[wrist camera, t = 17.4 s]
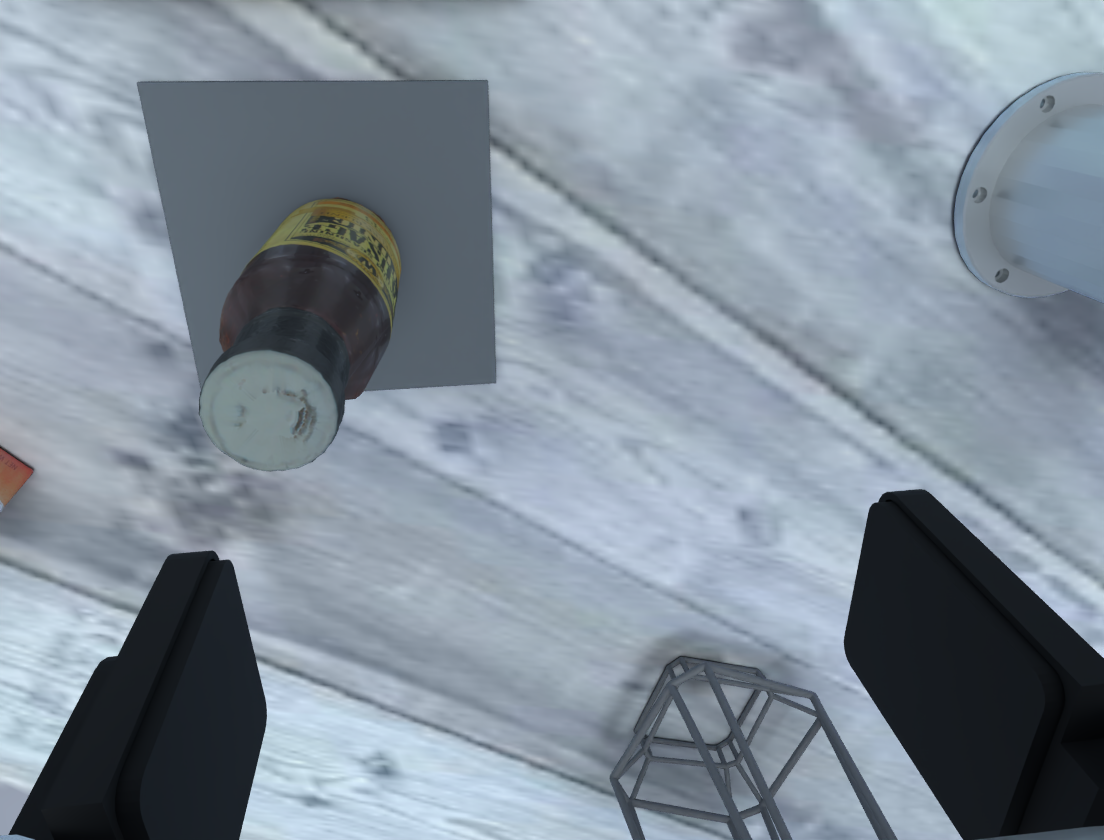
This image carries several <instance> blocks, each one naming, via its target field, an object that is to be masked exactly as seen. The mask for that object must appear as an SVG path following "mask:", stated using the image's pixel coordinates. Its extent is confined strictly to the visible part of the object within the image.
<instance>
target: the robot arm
mask: <svg viewBox="0 0 1104 840" xmlns="http://www.w3.org/2000/svg"><path fill="white" fill-rule="evenodd" d="M954 225H955V237H956V241H957V244H958V248H959V251H960V254H961V256H962V258H963V260H964V261H965V263H966V265H967V267H968V268H969V270H970V271H971V272H972V273H973V274H974V275H975V276H976V277H977V278H978V279H979V280H980V281H982V282H983V283H985V284H987V285H988V286H990V287H992V288H994V289H996V290H998V291H1001V292H1003V293H1006V294H1008V295H1011V296H1017V297H1023V298H1037V297H1047V296H1051V295H1055V294H1059V293H1063V292H1065V291H1068V290H1072V291H1074V292H1077V293H1079V294H1081V295H1084V296H1086V297H1089V298H1091V299H1094V300H1096V301H1099V302H1101V303H1104V73H1075V74H1071V75H1066V76H1062V77H1058V78H1056V79H1053V80H1051V81H1049V82H1046V83H1044V84H1042V85H1040V86H1037V87H1036V88H1034V89H1033V90H1031V91H1030V92H1028V93H1027V94H1025V95H1024V96H1022V97H1021V98H1019V99H1018V100H1017V101H1015V102H1014V103H1013V104H1012V105H1011V106H1010V107H1009V108H1008V109H1007V110H1005V111H1004V112H1003V113H1002V114H1001V115H1000V116H999V117H998V118H997V119H996V121H995V122H994V123H993V124H992V125H991V127H990V128H989V129H988V130H987V131H986V133H985V134H984V135H983V137H982V138H981V140H980V142H979V143H978V145H977V146H976V148H975V150H974V151H973V153H972V155H971V157H970V159H969V161H968V163H967V166H966V168H965V170H964V173H963V175H962V178H961V181H960V185H959V189H958V192H957V196H956V203H955V213H954ZM844 649H845V654H846V657H847V660H848V662H849V664H850V666H851V667H852V669H853V670H854V672H855V673H856V675H857V676H858V678H859V679H860V681H861V683H862V684H863V686H864V687H865V689H866V690H867V692H868V693H869V695H870V697H871V698H872V700H873V701H874V703H875V704H876V706H877V707H878V709H879V710H880V712H881V714H882V715H883V717H884V718H885V720H886V721H887V723H888V724H889V726H890V727H891V729H892V731H893V732H894V734H895V735H896V737H897V738H898V740H899V741H900V743H901V744H902V746H903V748H904V749H905V751H906V752H907V754H908V755H909V757H910V758H911V760H912V761H913V763H914V765H915V766H916V768H917V769H918V771H919V772H920V774H921V775H922V777H923V778H924V780H925V782H926V783H927V785H928V786H929V788H930V789H931V791H932V792H933V794H934V795H935V797H936V799H937V800H938V802H939V803H940V805H941V806H942V808H943V809H944V811H945V813H946V814H947V816H948V817H949V819H950V820H951V822H952V823H953V825H954V826H955V828H956V830H957V831H958V833H959V834H960V836H961V837H962V839H963V840H1104V658H1103V657H1102V656H1101V655H1100V654H1099V653H1097V652H1096V651H1095V650H1094V649H1093V648H1092V647H1091V646H1090V645H1089V644H1088V643H1087V642H1086V641H1085V640H1084V639H1083V638H1082V637H1081V636H1080V635H1079V634H1078V633H1076V632H1075V631H1074V630H1073V629H1072V628H1071V627H1070V626H1069V625H1068V624H1067V623H1066V622H1065V621H1064V620H1063V619H1062V618H1061V617H1060V616H1059V615H1058V614H1056V613H1055V612H1054V611H1053V610H1052V609H1051V608H1050V607H1049V606H1048V605H1047V604H1046V603H1045V602H1044V601H1043V600H1042V599H1041V598H1040V597H1039V596H1038V595H1036V594H1035V593H1034V592H1033V591H1032V590H1031V589H1030V588H1029V587H1028V586H1027V585H1026V584H1025V583H1024V582H1023V581H1022V580H1021V579H1020V578H1019V577H1018V576H1017V575H1015V574H1014V573H1013V572H1012V571H1011V570H1010V569H1009V568H1008V567H1007V566H1006V565H1005V564H1004V563H1003V562H1002V561H1001V560H1000V559H999V558H998V557H997V556H995V555H994V554H993V553H992V552H991V551H990V550H989V549H988V548H987V547H986V546H985V545H984V544H983V543H982V542H981V541H980V540H979V539H978V538H977V537H976V536H974V535H973V534H972V533H971V532H970V531H969V530H968V529H967V528H966V527H965V526H964V525H963V524H962V523H961V522H960V521H959V520H958V519H957V518H956V517H954V516H953V515H952V514H951V513H950V512H949V511H948V510H947V509H946V508H945V507H944V506H943V505H942V504H941V503H940V502H939V501H938V500H937V499H936V498H934V497H933V496H932V495H931V494H930V493H929V492H927V491H926V490H922V489H917V490H906V491H894V492H886V493H884V494H883V495H882V496H881V498H880V499H879V502H878V503H874V504H872V506H871V507H870V509H869V513H868V518H867V523H866V528H865V533H864V538H863V544H862V549H861V554H860V559H859V564H858V569H857V575H856V580H855V585H854V590H853V595H852V600H851V605H850V611H849V616H848V621H847V626H846V631H845V636H844ZM266 720H267V709H266V701H265V696H264V692H263V688H262V683H261V679H260V675H259V671H258V667H257V663H256V658H255V654H254V650H253V646H252V642H251V637H250V633H249V629H248V625H247V621H246V617H245V612H244V608H243V604H242V600H241V596H240V591H239V587H238V583H237V579H236V575H235V570H234V567H233V564H232V562H231V561H230V560H219V558H218V555H217V554H216V552H214V551H202V552H190V553H179V554H171V555H169V556H168V557H167V559H166V560H165V562H164V564H163V566H162V568H161V570H160V572H159V574H158V576H157V578H156V580H155V582H154V584H153V586H152V588H151V590H150V592H149V594H148V596H147V598H146V600H145V602H144V604H143V606H142V608H141V610H140V612H139V614H138V616H137V618H136V620H135V622H134V624H133V626H132V628H131V630H130V632H129V634H128V636H127V638H126V640H125V642H124V644H123V646H122V648H121V650H120V652H119V654H118V656H114V657H107V658H106V659H104V660H102V661H101V662H100V663H99V665H98V666H97V668H96V669H95V671H94V672H93V674H92V676H91V678H90V680H89V682H88V684H87V686H86V688H85V690H84V692H83V693H82V695H81V697H80V699H79V701H78V703H77V705H76V707H75V709H74V711H73V713H72V714H71V716H70V718H69V720H68V722H67V724H66V726H65V728H64V730H63V732H62V734H61V735H60V737H59V739H58V741H57V743H56V745H55V747H54V749H53V751H52V753H51V755H50V756H49V758H48V760H47V762H46V764H45V766H44V768H43V770H42V772H41V774H40V776H39V777H38V779H37V781H36V783H35V785H34V787H33V789H32V791H31V793H30V795H29V797H28V799H27V801H26V802H25V804H24V806H23V808H22V810H21V812H20V814H19V816H18V818H17V819H16V821H15V824H14V825H13V827H12V829H11V831H10V833H9V835H1V836H0V840H239V837H240V833H241V829H242V825H243V821H244V816H245V812H246V808H247V804H248V800H249V795H250V791H251V787H252V783H253V779H254V775H255V770H256V766H257V762H258V758H259V754H260V749H261V745H262V741H263V737H264V733H265V728H266Z"/></svg>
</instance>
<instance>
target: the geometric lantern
mask: <svg viewBox="0 0 1104 840" xmlns="http://www.w3.org/2000/svg"><path fill="white" fill-rule="evenodd" d="M686 662H687V663H693V664H698V665H696V666H695V667H693V668H691V669H689V668H688V666H687V664H686ZM678 664H681V666H682V668H683V669H684V671H685V672H684V673H682V674H681V675H679V676H677V677H676V676H675V674H674V671H673V668H674V667H675V666H677V665H678ZM703 671H704V672H705V674H706V676H703V675H698V674H699V673H701V672H703ZM740 671H741V672H740ZM743 672H747V673H753V674H756V675H757V676H754V675H750V674H747V673H743ZM714 673H717V674H720V675H724V676H728V677H731V678H735V679H739V680H742V681H746V682H750V683H753V684H750V683H744V682H738V681H733V680H727V679H721V678H716V676H715V674H714ZM668 674H669V675H670V677H671V679H672V680H671V681H669V682H668V683H667V685H666V686H665V688H664V689H663V691H662V693H661V694H660V696H659V697H658V699H657V701H656V702H655V704H654V706H653V707H652V705H653V703H654V701H655V699H656V697H657V696H658V694H659V692H660V690H661V688H662V686H663V684H664V682H665V680H666V678H667V676H668ZM689 679H695V680H701V681H707V682H710V685H711V687H712V689H713V691H714V693H715V695H716V697H717V700H718V702H719V704H720V706H721V708H722V710H723V713H724V715H725V717H726V719H727V721H728V724H729V726H730V728H731V730H732V732H731V734H730V736H729V738H728V739H726V740H725V741H723V742H721V743H719V744H718V745H716V746H713V745H705V743H704V741H703V739H702V737H701V735H700V733H699V731H698V729H697V727H696V725H695V723H694V721H693V719H692V717H691V715H690V713H689V711H688V709H687V707H686V705H685V703H684V701H683V699H682V697H681V695H680V693H679V692H678V690H677V689H678V687H679V685H680V684H682V683H684V682H685V681H687V680H689ZM719 684H725V685H731V686H737V687H743V688H749V689H755V690H756V691H755V692H754V694H753V696H752V698H751V699H750V701H749V703H748V705H747V706H746V708H745V710H744V712H743V713H742V715H741V717H740V718H739V720H738V722H737V721H736V719H735V716H734V714H733V712H732V710H731V708H730V706H729V704H728V702H727V699H726V697H725V695H724V693H723V691H722V689H721V687H720V685H719ZM756 684H757V685H756ZM761 691H766V692H767V694H768V696H769V697H768V699H767V701H766V703H765V705H764V707H763V708H762V710H761V712H760V714H759V716H758V718H757V720H756V722H755V724H754V726H753V728H752V730H751V732H750V734H749V736H748V738H747V740H745V738H744V736H743V733H742V731H741V729H740V727H741V725H742V723H743V721H744V720H745V718H746V716H747V715H748V713H749V711H750V709H751V708H752V706H753V704H754V702H755V701H756V699H757V697H758V696H759V694H760V692H761ZM773 692H774V693H780V694H786V695H793V696H799V697H805V698H808V699H810V700H811V702H812V704H813V706H814V707H815V710H816V711H814V710H812V709H810V708H807V707H805V706H803V705H800V704H798V703H795V702H793V701H791V700H788V699H786V698H783V697H781V696H779V695H776V694H774V693H773ZM672 699H674V701H675V703H676V705H677V707H678V709H679V711H680V713H681V715H682V717H683V719H684V721H685V723H686V726H687V728H688V730H689V732H690V734H691V736H692V738H693V740H694V742H695V743H690V742H682V741H674V740H667V739H659V738H653V737H654V735H655V733H656V731H657V729H658V727H659V725H660V723H661V721H662V719H663V717H664V715H665V713H666V711H667V709H668V707H669V705H670V703H671V701H672ZM773 699H775V700H778V701H780V702H782V703H785V704H787V705H789V706H792V707H794V708H797V709H799V710H801V711H804V712H806V713H808V714H811V715H813V716H815V717H817V719H816V720H815V722H814V723H813V725H812V726H811V728H810V729H809V731H808V732H807V734H806V735H805V737H804V738H803V739H802V741H801V742H800V744H799V745H798V747H797V748H796V750H795V751H794V753H793V754H792V756H791V757H790V759H789V760H788V762H787V763H786V765H785V766H784V768H783V769H782V771H781V772H780V774H779V775H778V777H777V778H776V780H775V781H774V782H773V784H772V785H771V787H770V788H769V789H768V787H767V784H766V782H765V780H764V778H763V776H762V774H761V772H760V770H759V767H758V765H757V763H756V761H755V759H754V757H753V755H752V753H751V750H750V748H749V745H750V743H751V741H752V739H753V737H754V735H755V734H756V732H757V730H758V728H759V726H760V724H761V722H762V720H763V718H764V716H765V714H766V712H767V710H768V708H769V707H770V705H771V703H772V701H773ZM664 703H665V704H664ZM663 705H664V706H663ZM662 706H663V708H662ZM651 707H652V709H651ZM661 708H662V710H661ZM650 709H651V710H650ZM660 710H661V712H660V714H659V716H658V718H657V720H656V722H655V724H654V726H653V728H652V730H651V732H650V734H649V736H648V737H646V736H645V734H646V732H647V730H648V729H649V727H650V726H651V724H652V722H653V721H654V719H655V718H656V716H657V714H658V713H659V711H660ZM649 711H650V712H649ZM648 713H649V714H648ZM821 726H822V728H823V730H824V731H825V733H826V735H827V737H828V739H829V741H830V743H831V745H832V747H833V749H834V751H835V753H836V755H837V757H838V759H839V761H840V763H841V765H842V767H843V769H844V771H845V773H846V775H847V777H848V779H849V781H850V783H851V785H852V787H853V789H854V791H855V793H856V795H857V797H858V799H859V801H860V803H861V805H862V807H863V809H864V811H865V813H866V815H867V817H868V819H869V821H870V823H871V825H872V827H873V829H874V831H875V833H876V835H877V837H878V839H879V840H897V838H896V836H895V834H894V832H893V831H892V829H891V827H890V825H889V824H888V822H887V820H886V818H885V816H884V815H883V813H882V811H881V809H880V808H879V806H878V804H877V802H876V800H875V799H874V797H873V795H872V793H871V792H870V790H869V788H868V786H867V784H866V783H865V781H864V779H863V777H862V776H861V774H860V772H859V770H858V768H857V767H856V765H855V763H854V761H853V760H852V758H851V756H850V754H849V752H848V751H847V749H846V747H845V745H844V743H843V742H842V740H841V738H840V736H839V735H838V733H837V731H836V729H835V727H834V726H833V724H832V722H831V720H830V719H829V717H828V715H827V713H826V711H825V710H824V708H823V706H822V704H821V702H820V700H819V698H818V696H817V694H816V693H814V692H812V691H808V690H805V689H801V688H797V687H794V686H790V685H787V684H783V683H779V682H776V681H772V680H768V679H766V677H765V676H764V675H763V674H762V673H761V672H760V671H759V670H758V669H753V668H747V667H741V666H735V665H730V664H724V663H718V662H712V661H706V660H700V659H694V658H688V657H679V658H678V659H676V660H675V661H674V662H672V663H671V664H669V665H667V667H666V668H665V671H664V673H663V675H662V677H661V679H660V681H659V683H658V684H657V686H656V688H655V690H654V692H653V694H652V696H651V698H650V700H649V702H648V704H647V706H646V708H645V710H644V712H643V714H642V716H641V718H640V719H639V721H638V723H637V725H636V727H635V730H634V732H635V734H636V735H635V736H634V738H633V739H632V741H631V743H630V744H629V746H628V748H627V749H626V751H625V752H624V754H623V756H622V757H621V759H620V760H619V762H618V764H617V765H616V767H615V769H614V770H613V772H612V773H611V775H610V782H611V784H612V786H613V789H614V792H615V794H616V797H617V799H618V802H619V805H620V807H621V810H622V813H623V815H624V818H625V820H626V823H627V826H628V828H629V831H630V833H631V836H632V839H633V840H645V837H644V834H643V832H642V829H641V826H640V823H639V820H638V817H637V814H636V811H635V809H634V807H638V808H644V809H649V810H655V811H660V812H666V813H672V814H677V815H683V816H688V817H694V818H700V819H705V820H711V821H716V822H722V823H727V825H728V827H729V830H730V832H731V834H732V837H733V839H734V840H752V838H751V836H750V834H749V832H748V830H747V828H746V826H745V824H744V822H743V820H742V819H745V818H747V817H750V816H753V815H755V814H758V813H760V812H761V814H762V817H763V819H764V822H765V824H766V827H767V829H768V832H769V835H770V837H771V840H779V837H778V835H777V832H776V830H775V827H774V825H773V822H774V824H775V826H776V829H777V831H778V833H779V835H780V837H781V839H782V840H792V838H791V836H790V833H789V831H788V829H787V827H786V825H785V823H784V821H783V819H782V816H781V814H780V812H779V810H778V808H777V806H776V804H775V802H774V799H773V797H774V795H775V794H776V792H777V791H778V789H779V788H780V786H781V785H782V783H783V782H784V780H785V779H786V778H787V776H788V775H789V773H790V772H791V770H792V769H793V767H794V766H795V764H796V763H797V761H798V760H799V758H800V757H801V755H802V754H803V753H804V751H805V750H806V748H807V747H808V745H809V744H810V742H811V741H812V739H813V738H814V736H815V735H816V733H817V732H818V730H819V729H820V727H821ZM734 737H735V739H736V741H737V743H738V745H739V748H740V750H741V751H740V753H739V755H738V753H737V751H736V749H735V746H734V744H733V742H732V741H733V739H734ZM651 742H652V743H659V744H667V745H675V746H683V747H691V748H698V750H699V753H700V755H701V757H702V759H703V761H704V762H703V761H694V760H684V759H675V758H665V757H655V756H652V752H651V749H650V746H649V745H650V743H651ZM639 743H640V744H641V747H642V749H641V750H640V751H639V752H638V753H637V754H636V755H635V756H634V757H633V758H632V759H631V760H630V761H629V759H630V758H631V756H632V755H633V753H634V751H635V750H636V748H637V747H638V745H639ZM728 744H729V746H730V749H731V751H732V753H733V755H734V757H735V759H736V760H734V761H731V762H729V763H726V760H725V758H724V755H723V753H722V750H721V748H723V747H724V746H726V745H728ZM708 750H714V751H716V750H717V753H718V755H719V758H720V760H721V763H714V761H713V759H712V757H711V755H710V753H709V751H708ZM643 754H644V755H645V757H646V759H645V761H644V764H643V766H642V769H641V771H640V774H639V776H638V779H637V781H636V784H635V786H634V789H633V791H632V794H631V796H630V798H629V797H628V796H627V794H626V792H625V791H624V789H623V788H622V786H621V784H620V783H619V781H618V779H619V778H620V777H621V776H622V775H623V774H624V773H625V772H626V771H627V770H628V769H629V768H630V767H631V766H632V765H633V764H634V763H635V762H636V761H637V760H638V759H639V758H640V757H641V756H642V755H643ZM743 757H744V759H745V761H746V763H747V765H748V767H749V770H750V772H751V774H752V776H753V778H754V780H755V783H756V785H757V787H758V789H759V791H760V794H761V796H762V797H761V796H760V794H759V793H758V791H757V789H756V788H755V786H754V785H753V783H752V782H751V780H750V778H749V777H748V775H747V774H746V772H745V771H744V769H743V767H742V766H741V764H740V762H741V761H742V759H743ZM628 761H629V762H628ZM650 761H652V762H662V763H672V764H682V765H692V766H701V767H707V769H708V771H709V773H710V775H711V777H712V780H713V782H714V784H715V786H716V788H717V790H718V792H719V794H720V796H721V798H722V800H723V802H724V804H725V807H726V809H727V811H728V813H729V816H727V815H721V814H716V813H710V812H705V811H699V810H694V809H689V808H683V807H678V806H672V805H667V804H661V803H656V802H650V801H645V800H639V799H635V798H636V796H637V793H638V791H639V788H640V785H641V783H642V780H643V778H644V775H645V773H646V770H647V768H648V765H649V763H650ZM733 766H736V767H737V769H738V770H739V772H740V773H741V775H742V776H743V778H744V780H745V781H746V783H747V784H748V786H749V787H750V789H751V791H752V792H753V794H754V795H755V797H756V799H757V800H758V802H759V805H756V806H754V807H752V808H749V809H746V810H744V811H741V812H738V810H737V808H736V806H735V804H734V802H733V799H732V793H731V784H730V775H729V768H730V767H733ZM717 768H721V769H724V773H725V783H726V785H725V783H724V781H723V779H722V777H721V775H720V773H719V771H718V769H717ZM762 798H763V799H762ZM767 809H768V810H767ZM768 811H769V812H768ZM769 813H770V815H771V817H770V815H769ZM771 818H772V820H773V822H772V820H771Z"/></svg>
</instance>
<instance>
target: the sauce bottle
mask: <svg viewBox="0 0 1104 840" xmlns="http://www.w3.org/2000/svg"><path fill="white" fill-rule="evenodd" d="M400 274H401V260H400V253H399V250H398V246H397V244H396V241H395V239H394V237H393V235H392V233H391V230H390V229H389V228H388V227H387V226H386V225H385V222H384V221H383V220H382V218H381V217H380V216H379V215H377V214H376V213H375V212H373V211H371V210H369V209H368V208H365V207H364V206H363V205H361V204H358V203H355V202H352V201H350V200H348V199H344V198H339V197H337V198H332V199H321V200H315V201H312V202H309V203H307V204H305V205H303V206H301V207H299V208H298V209H296V210H295V211H293V212H292V213H291V214H290V215H289V216H288V217H287V218H286V219H285V220H284V221H283V222H282V223H281V225H280V226H279V227H278V228H277V230H276V231H275V232H274V233H273V235H272V236H271V237H270V238H269V239H268V240H267V242H266V243H265V244H264V245H263V246H262V248H261V249H260V250H259V251H258V252H257V254H256V255H255V256H254V257H253V258H252V259H251V260H250V262H249V263H248V264H247V265H246V267H245V268H244V270H243V271H242V272H241V274H240V277H239V278H238V279H237V280H236V282H235V283H234V285H233V287H232V288H231V290H230V292H229V293H228V294H227V297H226V300H225V303H224V305H223V309H222V312H221V318H220V329H219V334H220V337H219V342H220V344H221V346H222V350H223V352H224V353H223V354H221V356H220V357H219V358H218V359H217V361H216V362H215V363H214V364H213V366H212V368H211V369H210V371H209V373H208V375H207V377H206V379H205V381H204V384H203V386H202V389H201V392H200V398H199V415H200V417H201V419H202V423H203V427H204V429H205V431H206V433H207V435H208V436H209V438H210V439H211V441H212V442H213V444H214V445H215V446H216V447H217V448H218V449H219V450H221V451H222V452H223V453H224V454H226V455H228V456H229V457H231V458H232V459H234V460H235V461H237V462H238V463H240V464H242V465H244V466H246V467H249V468H253V469H257V470H262V471H277V470H280V471H284V470H289V469H295V468H299V467H302V466H304V465H306V464H308V463H310V462H313V461H314V460H315V459H316V458H317V457H319V456H320V455H321V454H323V453H324V452H325V451H326V449H327V447H328V446H329V445H330V444H331V443H332V441H333V440H334V438H335V436H336V434H337V431H338V429H339V426H340V423H341V421H342V418H343V415H344V405H345V400H349V399H356V398H357V397H358V396H360V395H361V394H362V392H363V391H364V390H365V388H366V386H367V384H368V382H369V381H370V379H371V377H372V375H373V373H374V371H375V369H376V368H377V366H378V364H379V362H380V360H381V358H382V357H383V355H384V353H385V351H386V349H387V347H388V345H389V341H390V338H391V333H392V328H393V320H394V317H395V307H396V302H397V297H398V288H399V280H400Z"/></svg>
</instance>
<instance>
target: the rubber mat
mask: <svg viewBox="0 0 1104 840" xmlns="http://www.w3.org/2000/svg"><path fill="white" fill-rule="evenodd" d="M137 86H138V91H139V96H140V100H141V105H142V110H143V115H144V119H145V124H146V129H147V134H148V139H149V143H150V148H151V153H152V158H153V163H154V167H155V172H156V177H157V182H158V186H159V191H160V196H161V201H162V206H163V210H164V215H165V220H166V225H167V229H168V234H169V239H170V244H171V249H172V253H173V258H174V263H175V268H176V273H177V277H178V282H179V287H180V292H181V296H182V301H183V306H184V311H185V316H186V320H187V325H188V330H189V335H190V339H191V344H192V349H193V354H194V359H195V363H196V368H197V373H198V378H199V382H200V387H201V389H202V386H203V384H204V381H205V379H206V377H207V375H208V373H209V371H210V369H211V368H212V366H213V364H214V363H215V362H216V361H217V359H218V358H219V357H220V356H221V354H223V353H224V352H223V350H222V346H221V344H220V342H219V337H220V334H219V329H220V318H221V312H222V309H223V305H224V303H225V300H226V297H227V294H228V293H229V292H230V290H231V288H232V287H233V285H234V283H235V282H236V280H237V279H238V278H239V277H240V274H241V272H242V271H243V270H244V268H245V267H246V265H247V264H248V263H249V262H250V260H251V259H252V258H253V257H254V256H255V255H256V254H257V252H258V251H259V250H260V249H261V248H262V246H263V245H264V244H265V243H266V242H267V240H268V239H269V238H270V237H271V236H272V235H273V233H274V232H275V231H276V230H277V228H278V227H279V226H280V225H281V223H282V222H283V221H284V220H285V219H286V218H287V217H288V216H289V215H290V214H291V213H292V212H293V211H295V210H296V209H298V208H299V207H301V206H303V205H305V204H307V203H309V202H312V201H315V200H321V199H332V198H337V197H339V198H344V199H348V200H350V201H352V202H355V203H358V204H361V205H363V206H364V207H365V208H368V209H369V210H371V211H373V212H375V213H376V214H377V215H379V216H380V217H381V218H382V220H383V221H384V222H385V225H386V226H387V227H388V228H389V229H390V230H391V233H392V235H393V237H394V239H395V241H396V244H397V246H398V250H399V253H400V260H401V274H400V280H399V288H398V297H397V302H396V307H395V317H394V320H393V328H392V333H391V338H390V341H389V345H388V347H387V349H386V351H385V353H384V355H383V357H382V358H381V360H380V362H379V364H378V366H377V368H376V369H375V371H374V373H373V375H372V377H371V379H370V381H369V382H368V384H367V386H366V388H365V390H364V391H375V390H391V389H408V388H424V387H441V386H457V385H473V384H490V383H496V357H495V321H494V285H493V248H492V212H491V176H490V139H489V103H488V81H487V80H427V81H191V82H137Z"/></svg>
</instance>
